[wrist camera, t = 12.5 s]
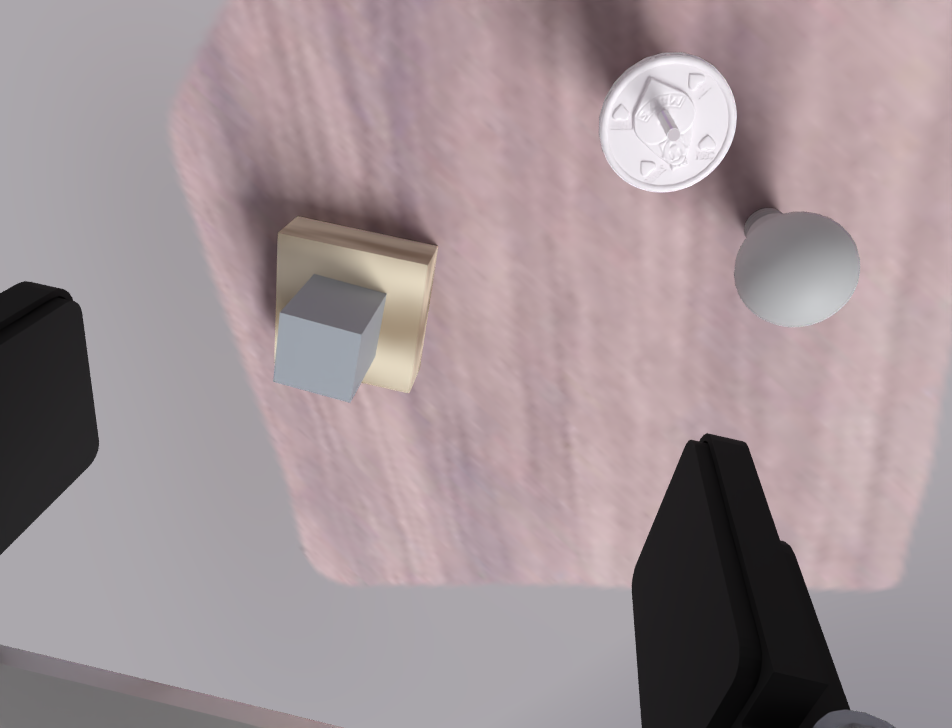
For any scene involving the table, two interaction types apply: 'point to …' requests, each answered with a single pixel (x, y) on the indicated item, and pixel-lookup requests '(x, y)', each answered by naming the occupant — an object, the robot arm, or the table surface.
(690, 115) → the smoothie
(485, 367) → the table surface
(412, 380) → the maple block
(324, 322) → the grey block
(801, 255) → the lightbulb
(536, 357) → the table surface
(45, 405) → the robot arm
